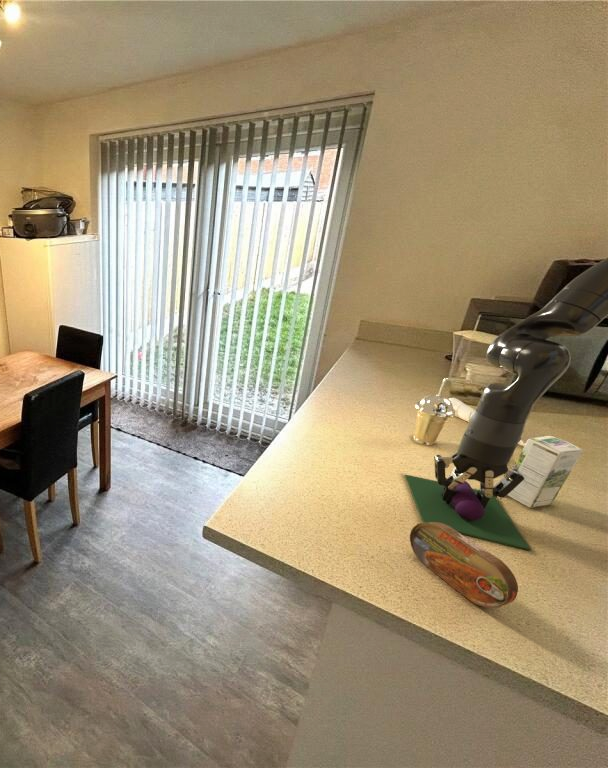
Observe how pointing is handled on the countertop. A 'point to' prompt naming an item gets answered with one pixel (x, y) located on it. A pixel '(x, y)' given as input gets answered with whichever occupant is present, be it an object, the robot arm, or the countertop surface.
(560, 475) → the syrup box
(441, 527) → the tin
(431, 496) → the cloth
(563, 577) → the countertop surface
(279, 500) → the countertop surface
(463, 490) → the eggplant
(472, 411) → the unicorn horn
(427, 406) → the cup with straw
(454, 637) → the countertop surface
